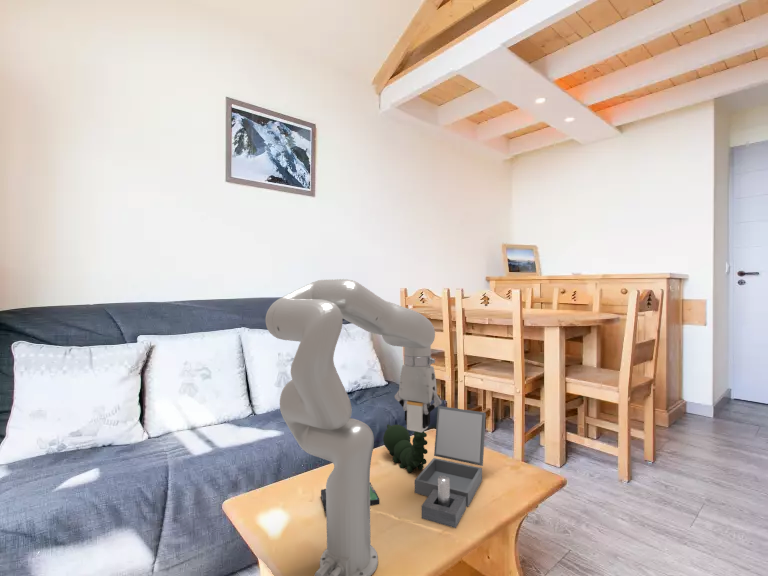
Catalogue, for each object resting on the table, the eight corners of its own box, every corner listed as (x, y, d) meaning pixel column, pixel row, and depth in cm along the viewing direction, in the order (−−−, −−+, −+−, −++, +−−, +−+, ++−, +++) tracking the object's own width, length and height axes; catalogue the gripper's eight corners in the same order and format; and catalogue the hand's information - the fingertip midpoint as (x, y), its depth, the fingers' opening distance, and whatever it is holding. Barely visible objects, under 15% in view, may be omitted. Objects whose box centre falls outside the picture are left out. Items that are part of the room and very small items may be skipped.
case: (468, 509, 104) (468, 493, 104) (414, 495, 111) (414, 480, 111) (482, 482, 118) (482, 468, 118) (433, 471, 125) (433, 457, 125)
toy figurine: (433, 480, 123) (398, 443, 146) (435, 423, 121) (399, 395, 144) (407, 487, 119) (375, 448, 142) (409, 428, 117) (376, 398, 140)
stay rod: (447, 521, 99) (447, 482, 99) (436, 518, 101) (436, 479, 101) (451, 514, 102) (451, 477, 102) (440, 511, 103) (440, 474, 103)
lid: (484, 412, 121) (485, 412, 122) (437, 405, 129) (438, 405, 130) (481, 466, 118) (483, 465, 119) (433, 456, 125) (434, 455, 126)
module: (421, 432, 108) (421, 403, 108) (406, 429, 110) (407, 401, 110) (427, 427, 111) (427, 399, 112) (413, 424, 114) (413, 397, 114)
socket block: (455, 531, 95) (455, 515, 95) (421, 521, 99) (421, 505, 99) (465, 511, 103) (465, 496, 103) (433, 503, 107) (433, 488, 107)
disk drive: (326, 519, 102) (380, 508, 106) (326, 509, 102) (380, 498, 106) (320, 498, 111) (370, 489, 116) (320, 489, 111) (369, 480, 116)
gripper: (450, 361, 110) (450, 426, 110) (397, 356, 118) (396, 416, 118) (440, 366, 103) (440, 434, 103) (385, 360, 112) (385, 424, 111)
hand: (417, 424), depth 111 cm, fingers closed on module, 4 cm apart
